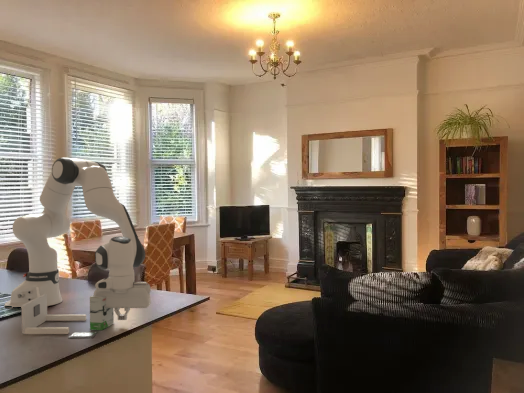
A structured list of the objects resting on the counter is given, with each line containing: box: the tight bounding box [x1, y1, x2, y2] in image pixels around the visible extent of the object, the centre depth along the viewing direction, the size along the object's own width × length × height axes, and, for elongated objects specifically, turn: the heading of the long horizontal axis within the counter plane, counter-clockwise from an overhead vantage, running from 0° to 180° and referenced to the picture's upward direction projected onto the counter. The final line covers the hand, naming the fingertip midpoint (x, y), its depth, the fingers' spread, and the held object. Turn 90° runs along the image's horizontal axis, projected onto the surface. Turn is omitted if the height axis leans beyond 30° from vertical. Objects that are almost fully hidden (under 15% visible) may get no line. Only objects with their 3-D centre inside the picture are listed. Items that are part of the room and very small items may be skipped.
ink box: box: [89, 295, 115, 331], centre depth 166 cm, size 9×5×12 cm, turn 168°
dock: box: [20, 294, 87, 335], centre depth 167 cm, size 16×16×10 cm
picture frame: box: [68, 331, 98, 339], centre depth 157 cm, size 8×4×1 cm, turn 91°
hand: (122, 319), depth 167 cm, fingers closed
